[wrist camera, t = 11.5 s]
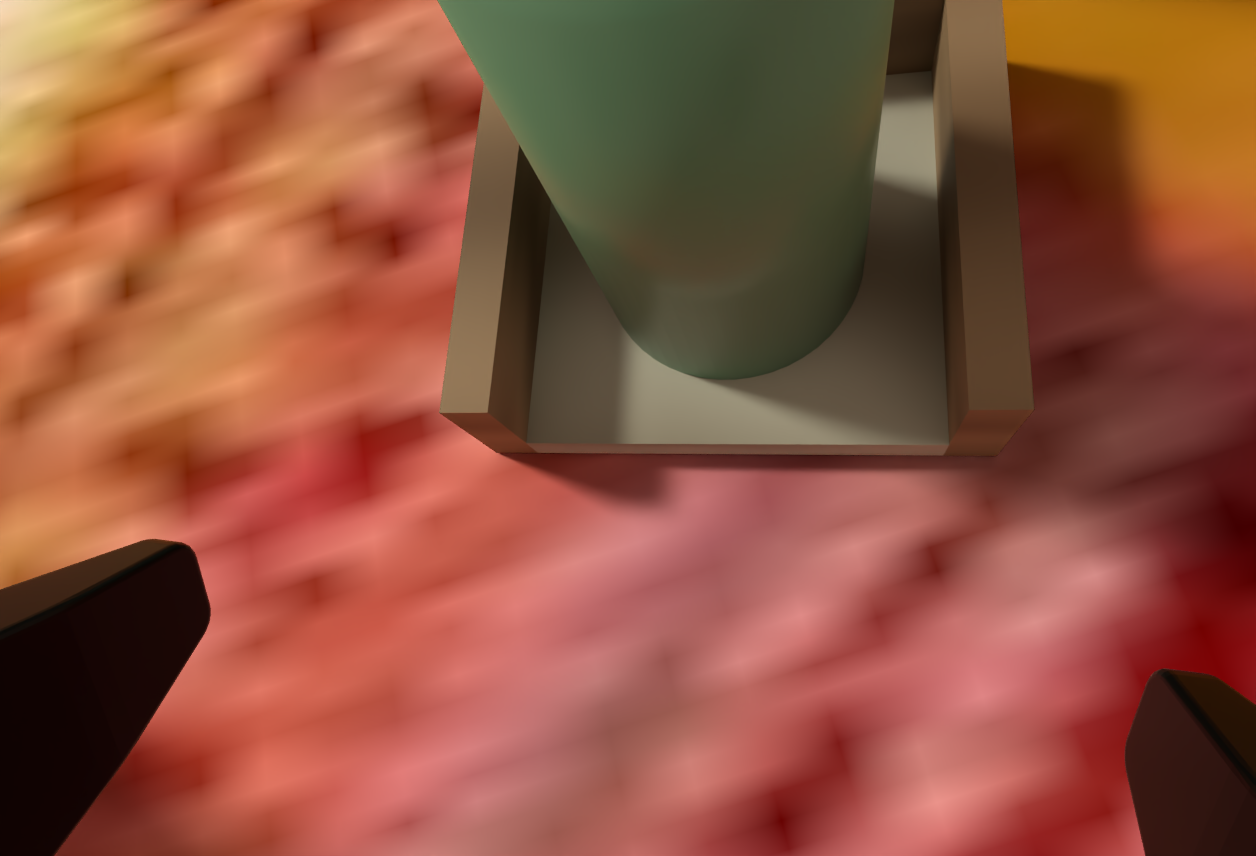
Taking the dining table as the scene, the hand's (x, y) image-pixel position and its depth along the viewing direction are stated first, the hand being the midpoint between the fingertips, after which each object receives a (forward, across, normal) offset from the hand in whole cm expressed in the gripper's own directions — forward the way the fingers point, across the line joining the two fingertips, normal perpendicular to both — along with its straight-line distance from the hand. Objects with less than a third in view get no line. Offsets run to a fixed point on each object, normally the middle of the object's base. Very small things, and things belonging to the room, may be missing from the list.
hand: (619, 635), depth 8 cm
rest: (+12, 0, 0) cm, 13 cm away
